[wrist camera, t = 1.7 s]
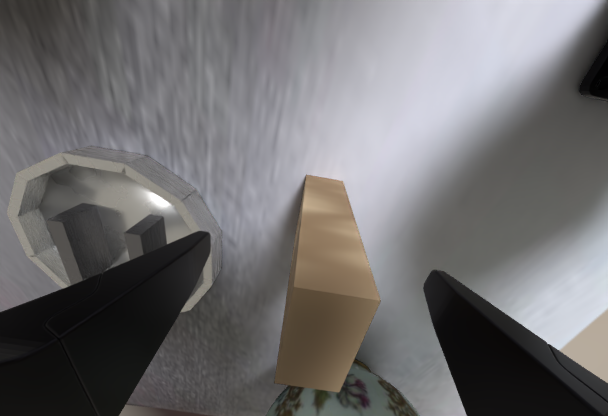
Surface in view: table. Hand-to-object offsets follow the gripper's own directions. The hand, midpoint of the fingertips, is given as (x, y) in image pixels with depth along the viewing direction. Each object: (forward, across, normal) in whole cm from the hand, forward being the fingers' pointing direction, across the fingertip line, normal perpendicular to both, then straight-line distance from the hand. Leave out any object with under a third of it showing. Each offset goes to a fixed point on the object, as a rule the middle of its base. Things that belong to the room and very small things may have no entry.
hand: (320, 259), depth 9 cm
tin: (+4, +11, +4) cm, 13 cm away
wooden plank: (+4, 0, 0) cm, 5 cm away
